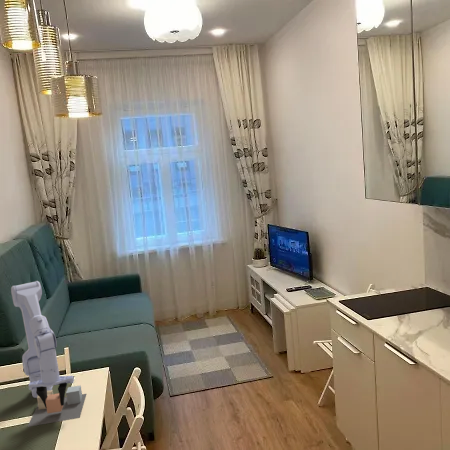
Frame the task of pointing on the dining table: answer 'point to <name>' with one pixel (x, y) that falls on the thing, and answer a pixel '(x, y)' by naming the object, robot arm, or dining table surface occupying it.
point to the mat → (57, 413)
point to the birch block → (40, 402)
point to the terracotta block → (53, 403)
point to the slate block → (74, 395)
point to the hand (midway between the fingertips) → (55, 405)
